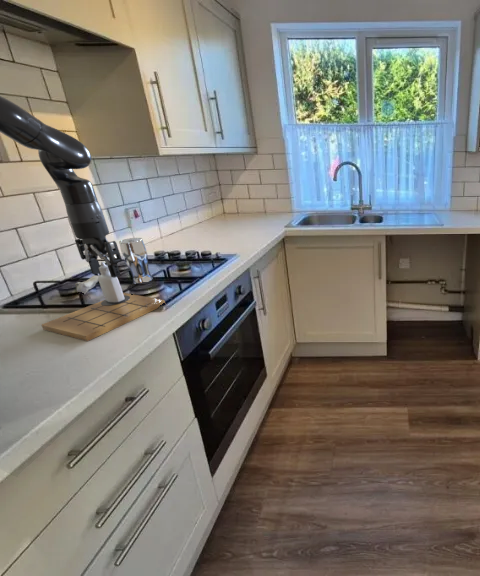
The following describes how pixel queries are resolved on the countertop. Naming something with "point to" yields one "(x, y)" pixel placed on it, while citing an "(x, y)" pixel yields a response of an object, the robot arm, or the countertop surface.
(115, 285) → the eye dropper bottle
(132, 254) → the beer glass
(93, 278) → the bone fragment
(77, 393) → the countertop surface
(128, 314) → the board
